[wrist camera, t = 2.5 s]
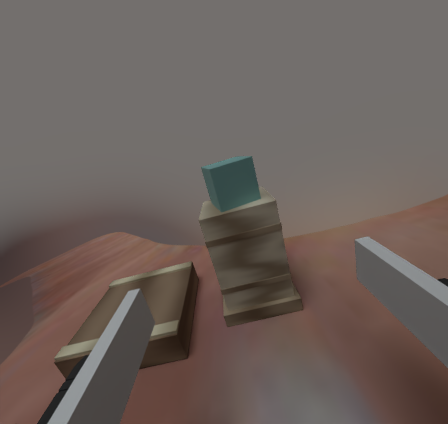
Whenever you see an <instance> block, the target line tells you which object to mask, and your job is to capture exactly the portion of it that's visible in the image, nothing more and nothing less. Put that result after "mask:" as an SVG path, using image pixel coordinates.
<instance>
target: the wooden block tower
mask: <svg viewBox="0 0 448 424" xmlns="http://www.w3.org/2000/svg"><path fill="white" fill-rule="evenodd" d="M259 192H260V196H261V199H259V200H256V201H253V202H250V203H247V204H245V205H242V206H239V207H236V208H233V209H230V210H228V211H225V212H220V211H219V210H218V209H217V208H216V207H215V206H214V205H213V204H212V203H211V200H209V201H206V202H203V206H202V209H201V213H200V217H199V223H200V226H201V229H202V232H203V235H204V238H205V243H206V247H207V248H208V251H209V254H210V257H211V260H212V263H213V266H214V269H215V272H216V275H217V278H218V281H219V284H220V287H221V292H222V295H223V307H224V318H225V321H226V324H227V327H230V326H235V325H239V324H243V323H248V322H252V321H257V320H261V319H266V318H270V317H274V316H279V315H283V314H288V313H292V312H296V311H301V310H303V306H302V301H301V297H300V295H299V293H298V292H297V290H296V288H295V286H294V284H293V282H292V280H291V279H292V277H291V273H290V270H289V265H288V260H287V255H286V250H285V244H284V239H283V235H282V226H281V223H280V219H279V214H278V208H277V204H276V200H275V199H274V198H273V197H272V196H271V195H270V194H269V193H268V192H267V191H266V190H265V189H264V188H263V187H259Z"/></svg>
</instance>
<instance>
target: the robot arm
mask: <svg viewBox="0 0 448 424" xmlns="http://www.w3.org/2000/svg"><path fill="white" fill-rule="evenodd" d="M355 254H356V271H357V279H358V280H359V281H360V282H361V283H362V284H363V285H364V286H365V287H366V288H367V289H368V290H369V291H370V292H371V293H372V294H373V295H374V296H375V297H376V298H377V299H378V300H379V301H380V302H381V303H382V304H383V305H384V306H385V307H386V308H387V309H388V310H389V311H390V312H391V313H392V314H393V315H394V316H395V317H396V318H397V319H398V320H399V321H400V322H401V323H402V324H403V325H404V326H406V327H407V328H408V329H409V330H410V331H411V332H412V333H413V334H414V335H415V336H416V337H417V338H418V339H419V340H420V341H421V342H422V343H423V344H424V345H425V346H426V347H427V348H428V349H429V350H430V351H431V352H432V353H433V354H434V355H435V356H436V357H437V358H438V359H439V360H440V361H441V362H442V363H443V364H444V365H445V366H446V367H447V368H448V279H446V278H443V279H438V280H436V279H435V278H433V277H431V276H430V275H428V274H427V273H425V272H424V271H422V270H420V269H419V268H417V267H416V266H414V265H412V264H411V263H409V262H408V261H406V260H404V259H403V258H401V257H400V256H398V255H396V254H395V253H393V252H392V251H390V250H388V249H387V248H385V247H384V246H382V245H381V244H379V243H377V242H376V241H374V240H373V239H371V238H369V237H364V238H360V239H355ZM154 325H155V320H154V318H153V316H152V314H151V311H150V309H149V307H148V305H147V302H146V300H145V298H144V296H143V293H142V291H141V289H135V290H131V291H128V293H127V294H126V296H125V297H124V299H123V301H122V302H121V304H120V306H119V307H118V309H117V311H116V312H115V314H114V315H113V317H112V319H111V320H110V322H109V324H108V325H107V327H106V329H105V330H104V332H103V333H102V335H101V337H100V338H99V340H98V342H97V343H96V345H95V347H94V348H93V350H92V351H91V353H90V354H89V355H85V356H84V357H83V358H82V359H81V360H80V361H79V362H78V363H77V364H76V365H75V366H74V368H73V369H72V371H71V372H70V374H69V375H68V377H67V378H66V381H65V382H64V383H63V385H62V386H61V388H60V389H59V392H58V393H57V394H56V395H55V397H54V398H53V400H52V402H51V403H50V405H49V406H48V408H47V409H46V411H45V412H44V414H43V415H42V417H41V419H40V420H39V422H38V423H37V424H120V421H121V419H122V416H123V413H124V410H125V407H126V404H127V402H128V399H129V396H130V393H131V390H132V387H133V385H134V382H135V379H136V376H137V373H138V370H139V368H140V365H141V362H142V359H143V356H144V354H145V351H146V348H147V345H148V342H149V339H150V337H151V334H152V331H153V328H154Z"/></svg>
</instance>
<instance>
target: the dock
mask: <svg viewBox="0 0 448 424" xmlns="http://www.w3.org/2000/svg"><path fill="white" fill-rule="evenodd" d="M198 280H199V279H198V276H197V274H196V271H195V268H194V265H193V262H192V261H191V262H187V263H183V264H179V265H175V266H171V267H167V268H163V269H159V270H155V271H151V272H147V273H143V274H139V275H135V276H131V277H127V278H123V279H119V280H115V281H112V283H111V284H110V285H109V290H108V291H107V292H106V294H105V295H104V296H103V298H102V299H101V300H100V302H99V303H98V304H97V306H96V307H95V308H94V310H93V311H92V312H91V314H90V315H89V317H88V318H87V319H86V321H85V322H84V323H83V325H82V326H81V327H80V329H79V330H78V331H77V333H76V334H75V335H74V337H73V338H72V339H71V341H70V342H69V343H68V345H67V346H64V347H62V349H61V350H60V351H59V353H58V354H57V355H56V357H55V358H54V359H55V360H56V361H55V362H54V363H55V365H56V366H57V367H58V369H59V370H60V372H61V373H62V374H63V376H64V377H65V378H67V377H68V375H69V374H70V372H71V371H72V369H73V368H74V366H75V365H76V364H77V363H78V362H79V361H80V360H81V359H82V358H83V357H84V356H85V355H89V354H90V353H91V351H92V350H93V348H94V347H95V345H96V343H97V342H98V340H99V338H100V337H101V335H102V333H103V332H104V330H105V329H106V327H107V325H108V324H109V322H110V320H111V319H112V317H113V315H114V314H115V312H116V311H117V309H118V307H119V306H120V304H121V302H122V301H123V299H124V297H125V296H126V294H127V293H128V291H131V290H135V289H141V291H142V293H143V296H144V298H145V300H146V302H147V305H148V307H149V309H150V311H151V314H152V316H153V318H154V320H155V325H154V328H153V331H152V334H151V337H150V339H149V342H148V345H147V348H146V351H145V354H144V356H143V359H142V362H141V365H140V368H139V369H141V368H145V367H150V366H154V365H159V364H163V363H168V362H172V361H177V360H181V359H186V358H187V357H188V350H189V343H190V336H191V329H192V322H193V315H194V308H195V301H196V294H197V287H198Z"/></svg>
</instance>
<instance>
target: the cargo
mask: <svg viewBox="0 0 448 424" xmlns="http://www.w3.org/2000/svg"><path fill="white" fill-rule="evenodd" d="M201 169H202V172H203V176H204V179H205V182H206V186H207V189H208V193H209V196H210V199H211V203H212V204H213V205H214V206H215V207H216V208H217V209H218V210H219V211H220V212H225V211H228V210H230V209H233V208H236V207H239V206H242V205H245V204H247V203H250V202H253V201H256V200H259V199H261V196H260V192H259V187H258V182H257V178H256V173H255V168H254V164H253V159H252V156H247V157H234V158H230V159H227V160H224V161H220V162H217V163H214V164H210V165H207V166H204V167H201Z"/></svg>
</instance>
